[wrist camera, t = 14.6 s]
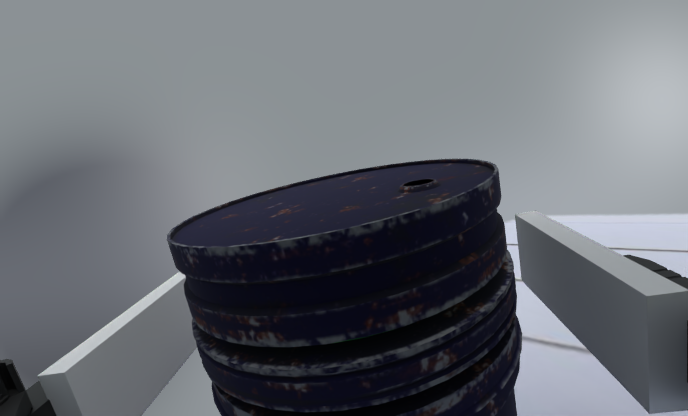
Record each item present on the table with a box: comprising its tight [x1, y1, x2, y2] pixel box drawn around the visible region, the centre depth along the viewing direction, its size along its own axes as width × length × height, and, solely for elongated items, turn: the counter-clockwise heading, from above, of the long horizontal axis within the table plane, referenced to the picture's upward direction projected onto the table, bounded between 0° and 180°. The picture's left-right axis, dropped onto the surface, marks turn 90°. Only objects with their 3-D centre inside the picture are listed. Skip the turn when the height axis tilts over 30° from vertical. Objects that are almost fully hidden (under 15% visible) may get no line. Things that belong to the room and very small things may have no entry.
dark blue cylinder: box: [167, 159, 522, 416], centre depth 12 cm, size 10×10×15 cm
